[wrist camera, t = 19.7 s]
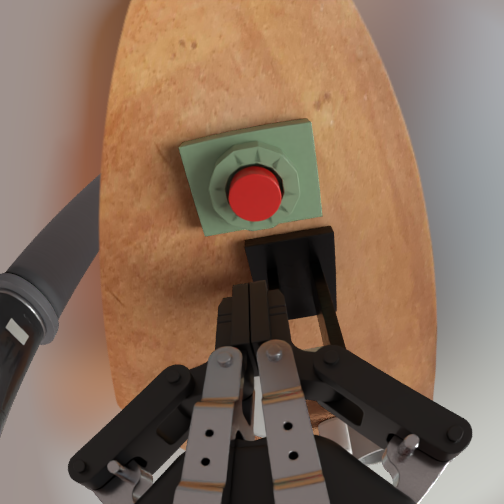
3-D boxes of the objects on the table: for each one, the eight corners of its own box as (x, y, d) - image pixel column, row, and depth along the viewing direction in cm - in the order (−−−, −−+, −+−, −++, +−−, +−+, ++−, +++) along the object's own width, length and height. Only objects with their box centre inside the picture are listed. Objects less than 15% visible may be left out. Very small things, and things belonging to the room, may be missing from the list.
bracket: (334, 304, 33) (362, 405, 23) (262, 316, 34) (268, 420, 23) (330, 225, 28) (375, 331, 17) (244, 240, 28) (243, 353, 18)
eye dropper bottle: (319, 418, 50) (327, 476, 40) (348, 414, 49) (359, 470, 40) (316, 427, 52) (324, 482, 42) (345, 423, 52) (354, 476, 42)
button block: (207, 227, 28) (202, 248, 25) (182, 142, 23) (172, 154, 20) (318, 207, 27) (327, 227, 24) (307, 118, 22) (316, 126, 19)
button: (235, 215, 24) (234, 226, 22) (224, 171, 22) (223, 179, 20) (282, 206, 23) (285, 217, 22) (274, 161, 21) (277, 169, 20)
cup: (356, 410, 49) (368, 467, 39) (332, 396, 45) (343, 462, 35) (400, 388, 46) (418, 447, 36) (381, 371, 42) (401, 439, 32)
